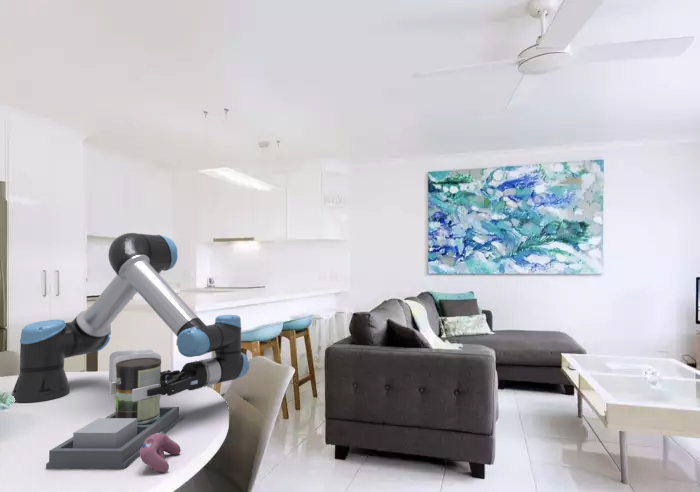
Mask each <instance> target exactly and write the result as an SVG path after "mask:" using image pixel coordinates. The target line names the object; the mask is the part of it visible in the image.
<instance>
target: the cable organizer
mask: <svg viewBox="0 0 700 492" xmlns="http://www.w3.org/2000/svg"><path fill="white" fill-rule="evenodd" d="M135 358H158V359H161V360H162V355H161V354H160V353H158V352H154V350H153V349H152V348H151V349H150V348H140V349H129V350H120V351H114V352H112V353H111V354H110V355H109V366H108V367H109V368H108V369H109V370H108V371H109V372H108V374H109V375H108V380H109V384H110V383H112V382H116V363H118V362H120V361H124V360H128V359H135ZM160 372H162V369H161V370H160Z"/></svg>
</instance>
